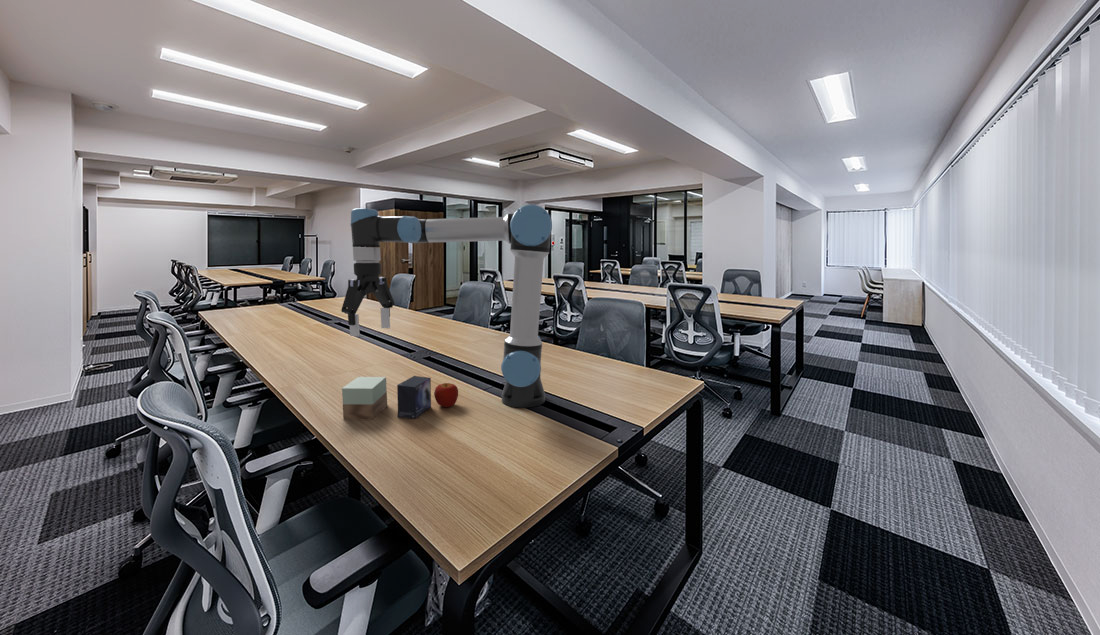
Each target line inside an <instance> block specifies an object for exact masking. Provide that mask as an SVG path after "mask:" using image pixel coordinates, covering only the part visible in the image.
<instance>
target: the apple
mask: <svg viewBox="0 0 1100 635" xmlns="http://www.w3.org/2000/svg"><path fill="white" fill-rule="evenodd" d="M433 396H434V399H435V401H436V403H437V404H438V406H441V407H443V408H451V407H453V406H454V405H455V404H456V402H457V401H458V397H459V388H458V386H456V385H455V384H454V383H449V382H444V383H441V384H438V385H437V386H436V387H435V389H434V393H433Z"/></svg>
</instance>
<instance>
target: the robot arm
mask: <svg viewBox="0 0 1100 635" xmlns="http://www.w3.org/2000/svg"><path fill="white" fill-rule="evenodd" d="M350 229H351V230H350V231H351V242H352V255H353V257H352V258H353V261H354V263H353V274H354V276H356V278H355V279H353V278H352V279H351V278H349V279H348V283H347V289H346V293H345V296H344V300H343V303H342V306H341V310H340V311H341V313H344V314H347V320H348V322H347V323H348V326H349V335H350V337H360V336H361V335H360V334H361V333H360V319H359V318H360V316H359V313H357V312H358V310H359V308H360V306H361V304H362V302H363V300H364V298H365V296H367V294H373V295H374V297H375V298H376V299H377V302H379V304H380V305H381V307H379V308H380V325H381V326H380V327H381V329H391V320H390V319H391V311H390V310H391V308H393V307H394V305H395V301H394V298H393V295H392V292H391V291H390V288H389V285H388V282H387V277H386V276H380V275H382V264H381V262H380V261H381V260H382V258H381V245H380V244H381V243H404V244H405V243H406V244H407V243H408V244H409V243H410V244H425V243H426V244H427V243H457V242H458V243H461V242H494V241H495V242H496V241H497V242H500V241H501V242H502V241H505V242H507V243H508V244H510V250H509V251H510V252H511V253H512V255H513V256H514V268H513V283H512V299H511V300H512V301H511V310H510V311H511V312H510V313H511V314H510V328H509V329H510V330H509V335H508V336H507V337H506V338H505V339H504V343H503V344H504V345H503V356H502V358H503V359H502V361H501V368H500V369H501V374H502V376H503V378H504V380H505V384H504V387H503V389H502V392H501V402H502V404H504V405H506V406H509V407H513V408H526V409H527V408H533V407H538V406H541V405H543V404H544V403H545V402H546V392H545V389H544V386H543V383H542V380H541V373H542V366H541V364H542V361H541V360H542V349H543V341H542V339H541V337H540V336H539V327H540V326H539V325H540V312H541V311H540V310H541V300H542V299H541V297H542V296H541V295H542V284H543V271H544V261H545V260H544V259H545V258H546V257H547V256H548V255H549V254H550V247H551V235H552V229H553V220H552V218H551V215H550V213H549V212H548V211H547V209H545V208H543V207H542V206H541V205H537V204H526V205H523V206H521V207H520V206H519V208H518V209H517V210H515V211H514V212H513V213H507V214H506V215H505V216H497V217H496V216H493V217H492V216H491V217H462V218H461V217H460V218H458V217H456V218H455V217H454V218H452V217H451V218H427V219H425V218H423V219H422V218H418V217H416V216H409V215H402V216H399V215H397V216H394V215H393V216H387V215H386V216H383V215H379V211H378V210H377V209H375V208H374V209H373V208H362V207H361V208H360V207H359V208H353V209H352V210H351V212H350ZM380 242H381V243H380Z"/></svg>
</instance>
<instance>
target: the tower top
mask: <svg viewBox="0 0 1100 635" xmlns="http://www.w3.org/2000/svg"><path fill="white" fill-rule="evenodd" d="M341 392H342V393H341V395H342V396H341V397H342V405H343V404H374V403H375V402H376V401H377V400H378V399H379V398H380V397H381V396H383V395H384V394H385V393H386V392H387V393H388V391H387V377H386V376H357V377H355V379H353V380H351V381H350V382H349V383H347V384H345V386H343V387H342V388H341Z"/></svg>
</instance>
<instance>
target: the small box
mask: <svg viewBox="0 0 1100 635" xmlns="http://www.w3.org/2000/svg"><path fill="white" fill-rule="evenodd" d="M431 380H432V379H431V377H426V376H417V375H413V376H412V377H409V378H408V379H406V380H404V381H402V382H400V383H398V384H396V385H397V386H396V388H397V392H396V394H397V395H396V396H397V417H398V418H404V419H411V420H412V419H414V420H416V419H417V418H419V417H420V416H421V415H423V414H424V413H426V412H427V411H429V410H430V409H431V408H432V393H431V390H432V387H431V386H432V384H431V382H432V381H431Z"/></svg>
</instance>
